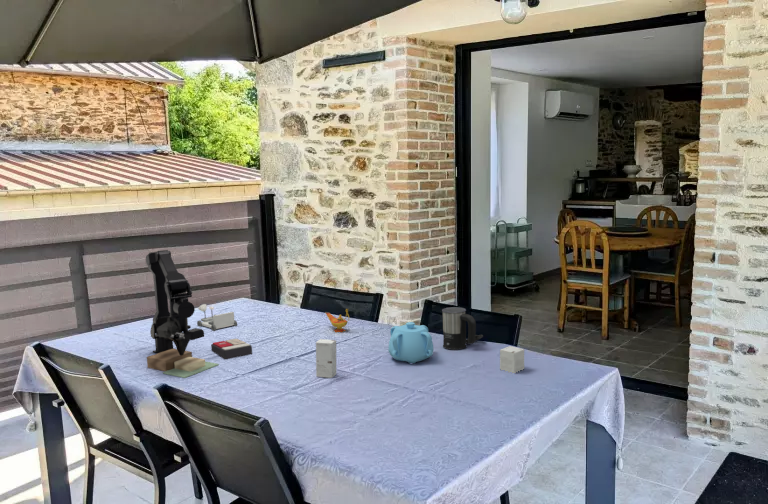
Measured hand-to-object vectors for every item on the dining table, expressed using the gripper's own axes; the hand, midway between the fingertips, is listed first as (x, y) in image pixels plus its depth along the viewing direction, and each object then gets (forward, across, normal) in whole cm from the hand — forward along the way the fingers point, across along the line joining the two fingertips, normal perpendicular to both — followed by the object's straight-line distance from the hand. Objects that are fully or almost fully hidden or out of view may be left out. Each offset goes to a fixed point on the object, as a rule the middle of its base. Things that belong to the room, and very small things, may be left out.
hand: (181, 355), depth 227 cm
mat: (+5, +5, 0) cm, 7 cm away
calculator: (+5, +3, +22) cm, 23 cm away
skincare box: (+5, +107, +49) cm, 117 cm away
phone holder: (+5, -34, +50) cm, 61 cm away
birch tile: (+4, +3, +1) cm, 5 cm away
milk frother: (+5, +80, +69) cm, 106 cm away
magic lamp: (+5, +22, +67) cm, 71 cm away
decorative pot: (+5, +70, +45) cm, 83 cm away
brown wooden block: (+5, -6, 0) cm, 8 cm away
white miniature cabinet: (+5, +53, +16) cm, 55 cm away
